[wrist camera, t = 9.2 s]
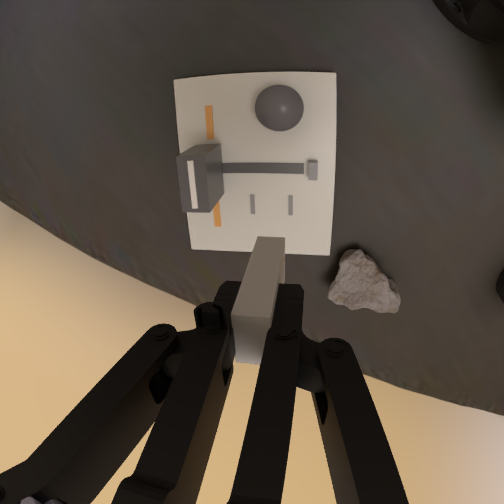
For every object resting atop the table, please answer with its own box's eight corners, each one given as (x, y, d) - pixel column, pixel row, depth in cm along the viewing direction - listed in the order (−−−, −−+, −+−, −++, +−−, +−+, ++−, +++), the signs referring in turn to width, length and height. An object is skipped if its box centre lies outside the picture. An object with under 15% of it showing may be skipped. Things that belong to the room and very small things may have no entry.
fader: (195, 144, 35) (175, 156, 30) (220, 143, 35) (204, 155, 29) (200, 193, 38) (182, 212, 33) (224, 193, 38) (209, 213, 32)
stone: (344, 237, 41) (349, 260, 36) (407, 260, 41) (419, 284, 36) (321, 285, 45) (323, 312, 40) (381, 304, 45) (388, 330, 40)
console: (180, 79, 34) (166, 80, 30) (334, 73, 31) (337, 72, 27) (196, 242, 45) (186, 256, 41) (328, 247, 42) (330, 263, 38)
